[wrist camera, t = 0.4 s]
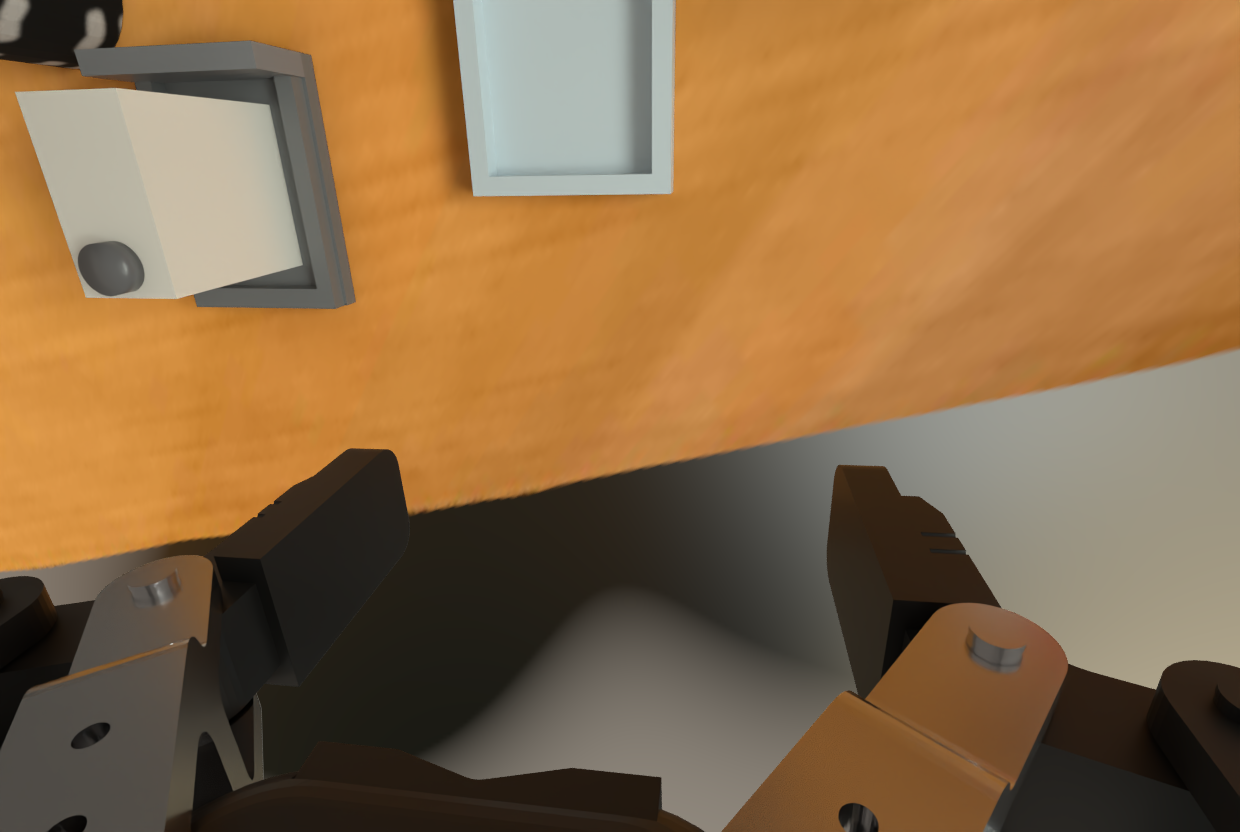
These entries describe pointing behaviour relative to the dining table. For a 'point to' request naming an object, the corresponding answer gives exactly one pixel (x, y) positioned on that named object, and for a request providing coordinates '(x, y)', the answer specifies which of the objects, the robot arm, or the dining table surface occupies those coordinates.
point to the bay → (301, 145)
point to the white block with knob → (163, 189)
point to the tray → (568, 95)
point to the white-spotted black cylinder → (57, 29)
